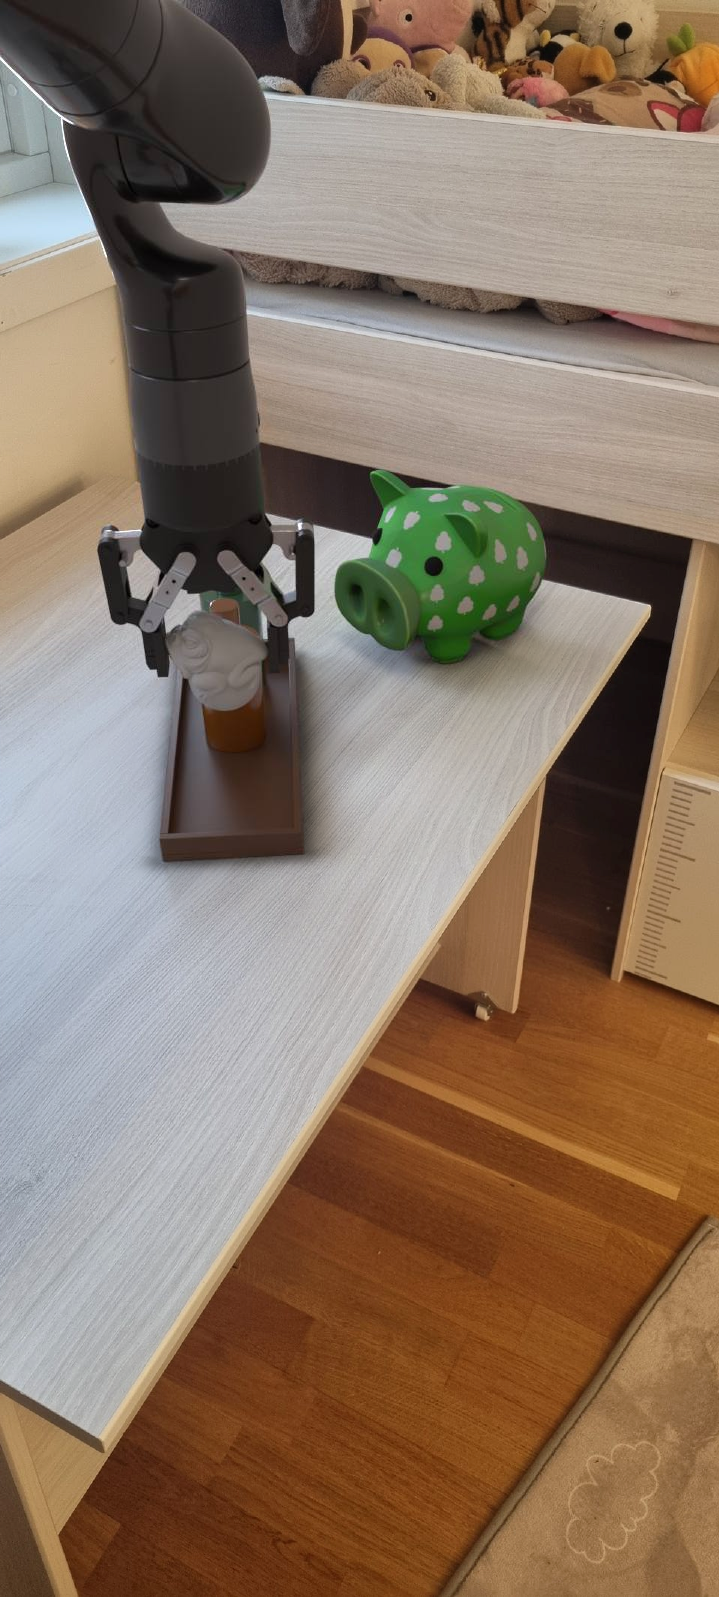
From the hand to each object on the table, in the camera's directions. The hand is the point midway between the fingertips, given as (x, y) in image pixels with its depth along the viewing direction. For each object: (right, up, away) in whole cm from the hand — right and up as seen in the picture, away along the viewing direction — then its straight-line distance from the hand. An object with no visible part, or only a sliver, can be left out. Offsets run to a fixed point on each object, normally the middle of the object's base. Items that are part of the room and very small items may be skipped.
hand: (220, 668), depth 82 cm
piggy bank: (+18, +6, +28) cm, 34 cm away
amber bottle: (0, -4, +15) cm, 16 cm away
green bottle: (-1, +1, +21) cm, 21 cm away
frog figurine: (0, -2, +2) cm, 3 cm away
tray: (0, -5, +15) cm, 16 cm away
